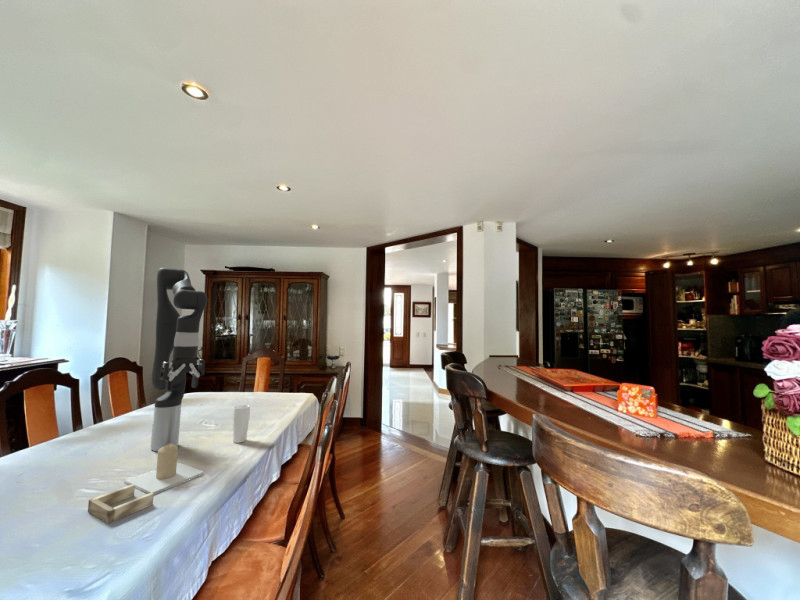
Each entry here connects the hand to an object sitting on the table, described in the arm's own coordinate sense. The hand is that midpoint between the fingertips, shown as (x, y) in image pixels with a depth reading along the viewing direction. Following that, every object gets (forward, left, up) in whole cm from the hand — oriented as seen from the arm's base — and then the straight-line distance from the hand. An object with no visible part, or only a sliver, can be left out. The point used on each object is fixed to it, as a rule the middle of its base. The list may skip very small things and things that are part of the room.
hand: (181, 389), depth 117 cm
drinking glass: (-5, +30, -28) cm, 41 cm away
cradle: (+12, -20, -28) cm, 37 cm away
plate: (+4, -5, -28) cm, 29 cm away
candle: (+4, -5, -27) cm, 28 cm away
